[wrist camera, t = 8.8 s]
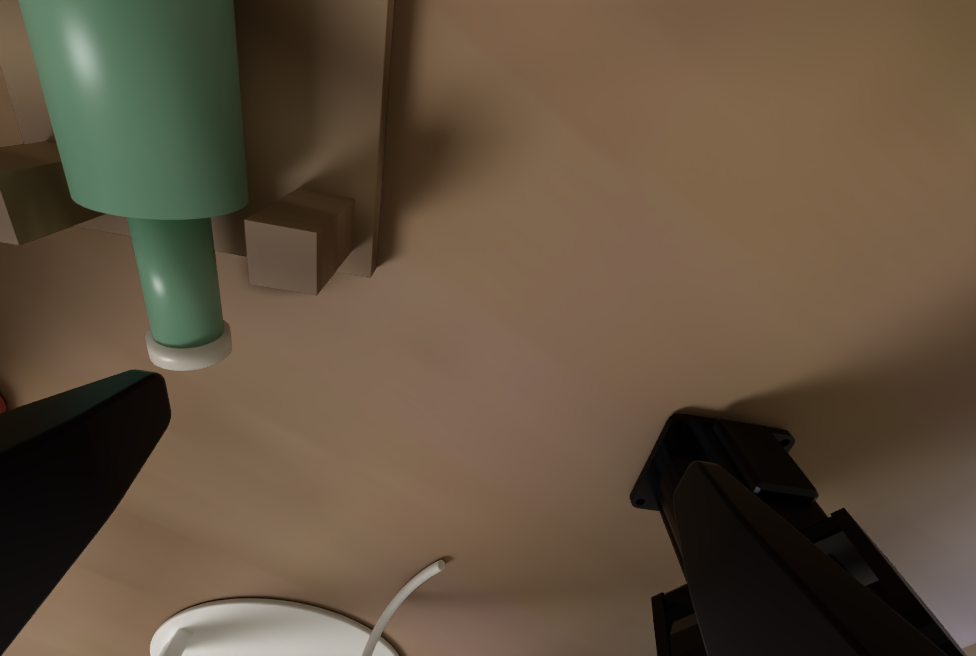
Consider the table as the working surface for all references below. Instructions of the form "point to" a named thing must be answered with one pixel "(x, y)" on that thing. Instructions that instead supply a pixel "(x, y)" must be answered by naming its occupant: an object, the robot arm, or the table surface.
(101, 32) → the bottle
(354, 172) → the cradle
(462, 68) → the table surface
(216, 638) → the desk lamp
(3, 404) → the stacking bear
